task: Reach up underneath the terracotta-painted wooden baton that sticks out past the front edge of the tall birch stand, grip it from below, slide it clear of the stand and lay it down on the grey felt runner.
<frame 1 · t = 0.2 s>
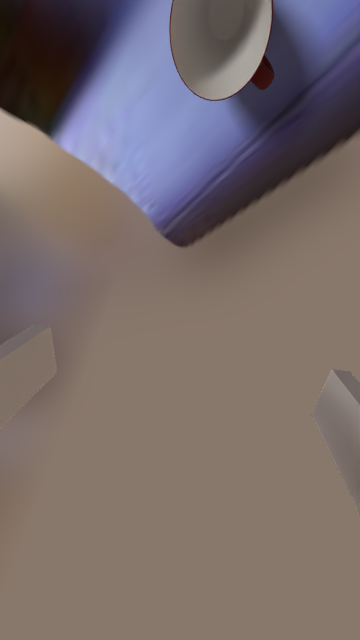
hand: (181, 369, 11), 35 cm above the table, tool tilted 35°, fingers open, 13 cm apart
mug: (236, 21, 24), on the table
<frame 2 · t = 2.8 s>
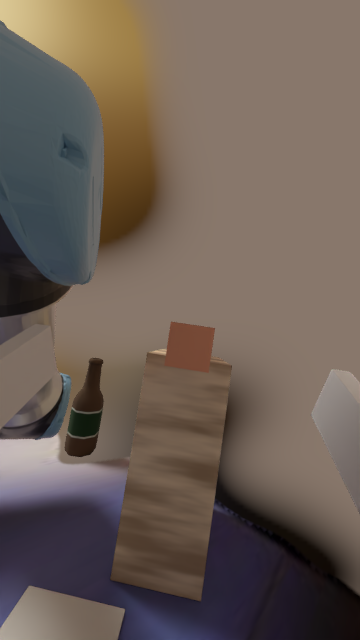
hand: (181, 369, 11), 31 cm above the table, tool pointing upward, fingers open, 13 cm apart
beer bottle: (79, 450, 61), on the table
stand: (163, 533, 39), on the table
baton: (189, 357, 36), point 30 cm above the table, touching stand
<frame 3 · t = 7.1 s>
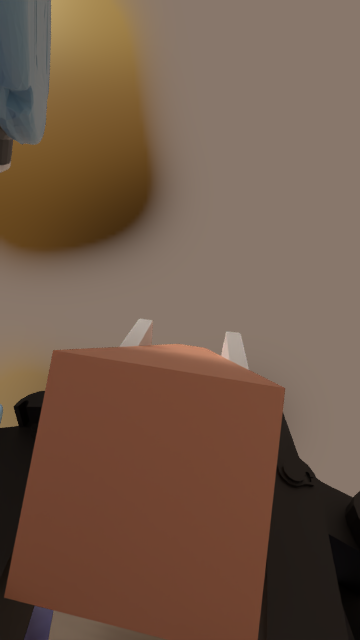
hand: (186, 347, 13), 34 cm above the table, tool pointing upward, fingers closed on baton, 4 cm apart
baton: (181, 398, 18), point 30 cm above the table, touching gripper, stand
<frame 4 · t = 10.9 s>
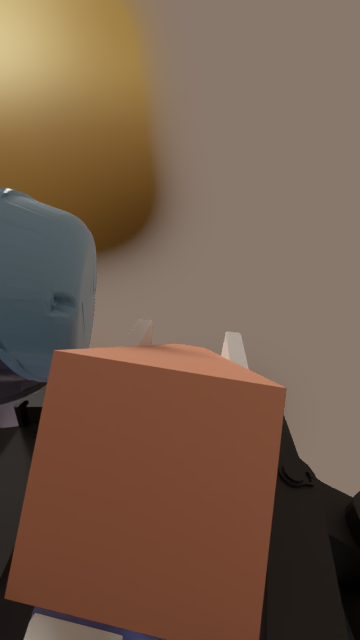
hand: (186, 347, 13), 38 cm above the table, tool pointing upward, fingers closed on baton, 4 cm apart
baton: (181, 398, 18), point 34 cm above the table, touching gripper
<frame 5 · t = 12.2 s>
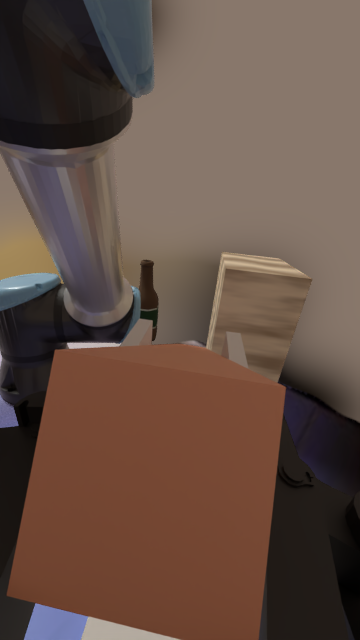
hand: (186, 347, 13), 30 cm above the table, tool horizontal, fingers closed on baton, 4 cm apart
beer bottle: (144, 337, 74), on the table
stand: (227, 394, 53), on the table
baton: (181, 397, 19), point 23 cm above the table, tilted 29°, touching gripper
runner: (165, 529, 29), on the table
when the fingers open (16 cm above the table, at t = 15.1 s): baton drops 9 cm, resting on runner.
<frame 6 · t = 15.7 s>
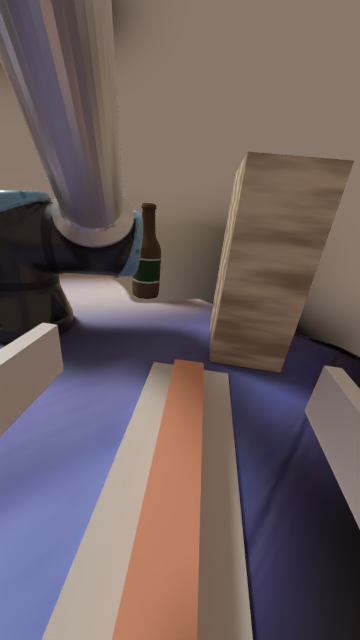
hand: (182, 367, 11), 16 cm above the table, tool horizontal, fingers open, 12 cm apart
beer bottle: (145, 295, 68), on the table
stand: (239, 341, 48), on the table
baton: (171, 498, 20), resting on runner
runner: (177, 457, 24), on the table
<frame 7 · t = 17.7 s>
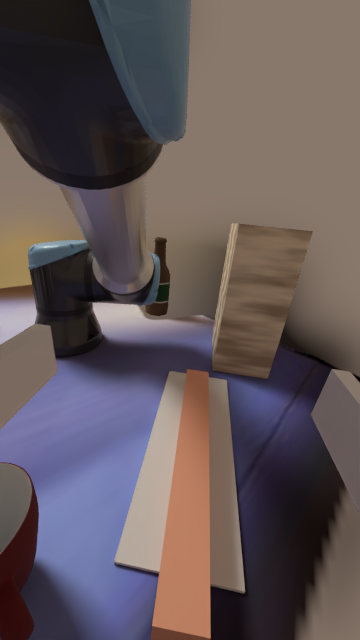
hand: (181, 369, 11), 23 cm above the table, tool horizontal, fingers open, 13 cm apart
beer bottle: (156, 312, 79), on the table
stand: (236, 353, 59), on the table
baton: (189, 461, 31), resting on runner
runner: (191, 437, 35), on the table
mug: (5, 597, 19), on the table
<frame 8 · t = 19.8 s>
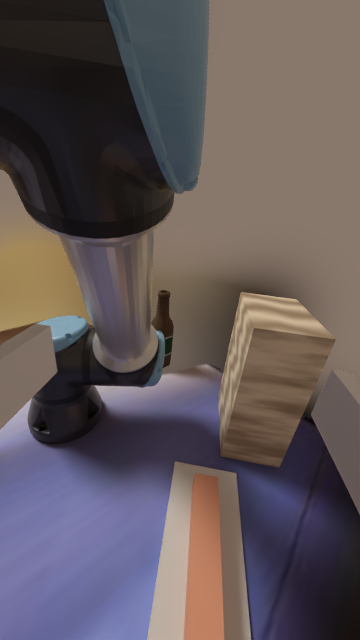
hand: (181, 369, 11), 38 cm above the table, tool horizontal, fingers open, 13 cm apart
beer bottle: (159, 362, 76), on the table
stand: (244, 425, 56), on the table
baton: (200, 621, 28), resting on runner
runner: (201, 576, 32), on the table
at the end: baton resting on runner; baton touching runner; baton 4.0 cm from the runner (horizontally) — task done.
